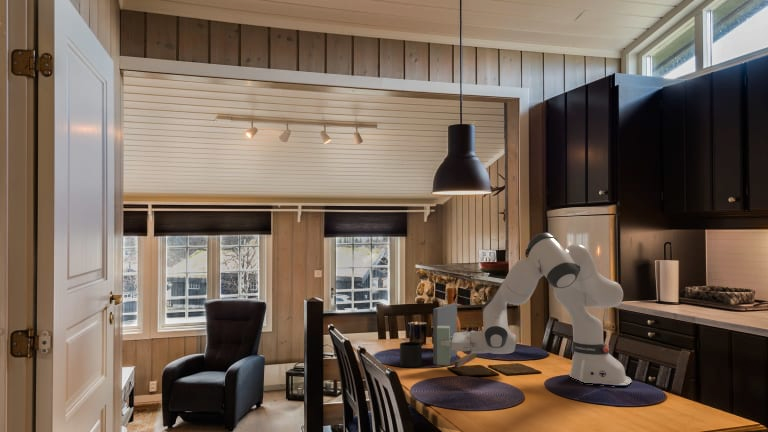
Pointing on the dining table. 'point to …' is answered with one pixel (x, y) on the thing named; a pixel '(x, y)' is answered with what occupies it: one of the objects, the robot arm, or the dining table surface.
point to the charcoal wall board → (449, 318)
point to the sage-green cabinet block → (443, 351)
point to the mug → (410, 354)
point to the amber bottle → (450, 300)
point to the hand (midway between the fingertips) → (441, 341)
